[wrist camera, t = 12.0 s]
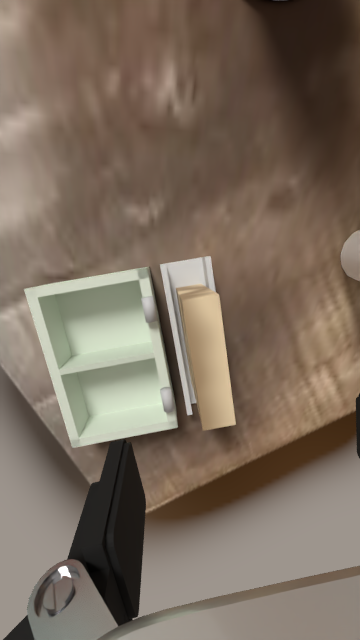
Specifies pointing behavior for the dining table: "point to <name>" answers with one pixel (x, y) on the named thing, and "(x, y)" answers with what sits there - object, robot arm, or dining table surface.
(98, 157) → the dining table surface
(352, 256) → the foam cup
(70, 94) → the dining table surface
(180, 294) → the beige flat block
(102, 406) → the cabinet
